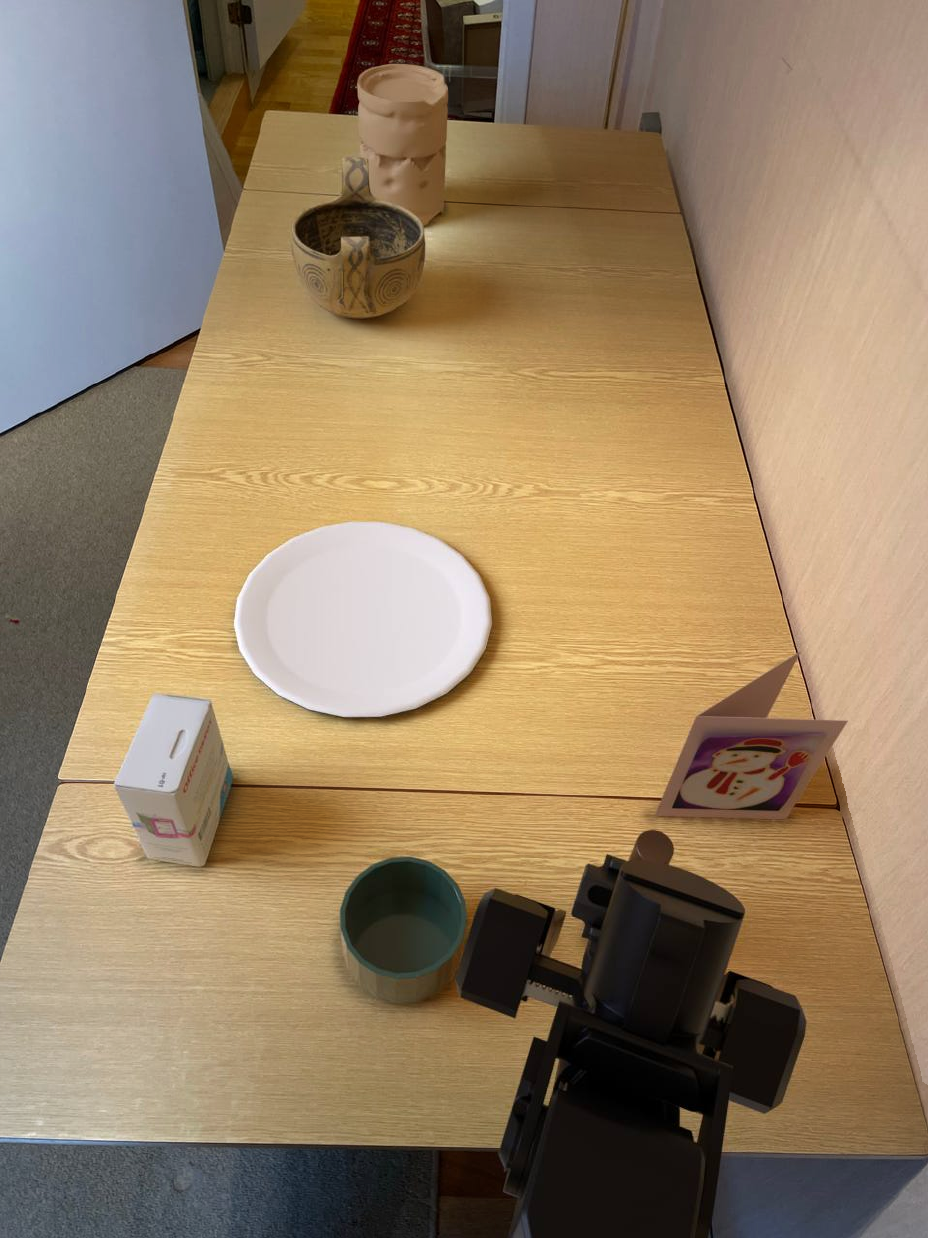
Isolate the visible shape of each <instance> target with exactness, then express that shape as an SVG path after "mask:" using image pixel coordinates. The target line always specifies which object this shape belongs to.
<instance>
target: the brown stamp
mask: <svg viewBox="0 0 928 1238" xmlns="http://www.w3.org/2000/svg"><path fill="white" fill-rule="evenodd" d="M674 853H675V847H674V843H673V842H672V840H671V838H670V837H669V836H668V835H667V834H666V833H664V832H662V831H660V830H657V829H647V830H645V831H642V832H641V833H640V834H639V835H638V836H637V838H636V840H635V843H634V845H633V848H632V850H631V853H630V855H629V858H628V860H627V861H629V860H649V861H654V862H659V863H664V864H667V865H670V863H671V861H672V859H673V856H674Z"/></svg>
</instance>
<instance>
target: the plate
mask: <svg viewBox="0 0 928 1238" xmlns="http://www.w3.org/2000/svg"><path fill="white" fill-rule="evenodd" d="M492 618H493V617H492V605H491V598H490V596H489V593H488V591H487V588H486V586H485V584H484V582H483V580H482V577H481V575H480V573H478V572H477V570H476V569H475V568H474V567H473V566H472V564H471V563H470V562H469V560H467V558H466V557H464V555H463V554H462V553H460V552H459V551H458V550H456V549H454V548H453V547H452V546H451V545H449V544H447V543H446V542H444V541H443V540H442V539H440V538H437V537H436V536H433V535H431V534H428V533H426V532H423V531H421V530H419V529H416V528H414V527H410V526H405V525H399V524H395V523H389V522H384V521H347V522H341V523H336V524H331V525H326V526H320V527H317V528H315V529H312V530H309V531H307V532H304V533H302V534H300V535H296V536H294V537H292V538H290V539H289V540H287V541H285V542H284V543H283V544H282V545H280V546H278V547H277V548H275V549H274V550H272V551H270V552H269V553H268V554H266V556H264V558H262V560H261V561H260V562H259V563H258V564H257V566H256V567H255V568H254V569H253V570H252V571H251V572H250V573H249V574H248V576H247V578H246V580H245V583H244V584H243V586H242V588H241V590H240V593H239V594H238V596H237V598H236V605H235V612H234V620H233V627H234V631H235V636H236V640H237V645H238V650H239V653H240V654H241V656H242V657H243V659H244V660H245V662H246V664H247V665H248V667H249V669H250V670H251V672H252V673H253V675H254V676H255V677H256V678H257V679H258V680H260V682H261V683H263V685H265V686H266V687H267V688H269V689H270V690H271V691H272V692H273V693H274V694H275V695H277V696H278V697H280V698H282V699H284V700H286V701H288V702H290V703H293V704H294V705H296V706H298V707H301V708H303V709H305V710H307V711H310V712H315V713H320V714H323V715H328V716H333V717H337V718H342V719H375V718H376V719H377V718H379V719H380V718H381V719H382V718H385V717H389V716H394V715H399V714H403V713H406V712H410V711H415V710H417V709H420V708H422V707H424V706H426V705H427V704H430V703H431V702H434V701H436V700H438V699H440V698H442V697H444V696H446V695H447V694H449V693H450V692H451V691H452V690H453V689H454V688H456V687H457V686H458V685H459V684H460V683H461V682H463V681H464V680H466V678H467V677H468V676H470V675H471V673H472V672H473V670H474V668H476V665H477V664H478V662H479V661H480V659H481V658H482V656H483V655H484V653H485V651H486V648H487V646H488V641H489V637H490V633H491V629H492V626H493V619H492Z"/></svg>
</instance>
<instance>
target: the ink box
mask: <svg viewBox="0 0 928 1238" xmlns="http://www.w3.org/2000/svg"><path fill="white" fill-rule="evenodd" d="M231 770H232V769H231V766H230V763H229V760H228V756H227V752H226V749H225V745H224V741H223V738H222V734H221V732H220V727H219V724H218V721H217V718H216V714H215V710H214V707H213V703H212V701H211V699H209V698H203V697H197V696H196V697H195V696H189V695H188V696H187V695H179V694H169V693H168V694H165V693H153V694H152V695H151V698H150V699H149V702H148V705H147V707H146V709H145V711H144V714H143V716H142V718H141V721H140V723H139V725H138V728H137V730H136V733H135V735H134V737H133V739H132V741H131V744H130V746H129V749H128V751H127V753H126V755H125V757H124V760H123V762H122V764H121V766H120V769H119V771H118V773H117V776H116V777H115V780H114V783H113V788H114V790H115V792H116V794H117V796H118V798H119V801H120V803H121V805H122V808H123V809H124V811H125V813H126V815H127V817H128V820H129V822H130V824H131V826H132V828H133V830H134V832H135V835H136V836H137V838H138V841H139V843H140V845H141V847H142V849H143V851H144V853H145V856H146V858H147V859H149V860H154V861H158V862H159V861H160V862H164V863H172V864H178V865H185V866H190V867H191V866H193V867H204V866H205V864H207V859H208V857H209V854H210V851H211V848H212V844H213V841H214V839H215V836H216V832H217V829H218V827H219V823H220V821H221V818H222V814H223V811H224V808H225V805H226V802H227V800H228V797H229V794H230V791H231V787H232V785H233V781H234V776H233V773H232V771H231Z"/></svg>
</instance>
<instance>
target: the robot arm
mask: <svg viewBox="0 0 928 1238" xmlns="http://www.w3.org/2000/svg"><path fill="white" fill-rule="evenodd" d="M628 860H629V859H628ZM628 860H626V859H623V858H620V857H618V856H615V855H612V854H608V853H606V855H605V858H604V861H603V863H602V865H600V866H597V865H594V864H592V863H587V864H585V866H584V870H583V873H582V875H581V879H580V883H579V885H578V889H577V892H576V896H575V898H574V902H573V905H572V909H571V911H570V912H571V913H570V915H571V917H572V918H575V919H578V920H581V921H582V922H583V923H584V927H583V931H582V934H581V938H584V939H587V944H586V947H585V950H584V953H583V957H582V961H581V967H578V966H574V965H572V964H569V963H567V962H563V961H561V960H559V959H556V958H553V957H551V955H552V953H553V951H554V949H555V947H556V945H557V944H558V941H559V938H560V935H561V933H562V929H563V926H564V922H565V919H566V916H567V911H566V910H564V909H557V910H556V907H554V906H551V905H549V904H545V903H542V902H540V901H537V900H535V899H531V898H528V897H526V896H523V895H520V894H514V893H512V892H507V891H505V890H503V889H500V888H497V887H495V888H492V889H491V890H488V891H487V892H484V893H483V895H482V896H481V898H480V900H479V902H478V904H477V907H476V909H475V913H474V915H473V918H472V922H471V924H470V928H469V931H468V934H467V938H466V941H465V944H464V948H463V952H462V957H461V961H460V964H459V967H458V969H457V971H456V974H455V979H454V985H455V988H456V990H457V993H458V996H459V998H460V999H462V1000H465V1001H468V1002H471V1003H473V1004H475V1005H478V1006H481V1007H483V1008H486V1009H489V1010H491V1011H494V1012H497V1013H499V1014H502V1015H504V1016H507V1017H509V1018H512V1019H516V1018H517V1015H518V1012H519V1009H520V1005H521V1003H522V1002H524V1003H526V1002H527V1001H528V999H529V998H532V999H534V1000H536V1001H539V1002H541V1003H544V1004H547V1005H549V1006H552V1007H555V1008H556V1010H555V1013H554V1017H553V1019H552V1023H551V1026H550V1029H549V1032H548V1036H547V1039H546V1040H544V1039H543V1038H540V1037H537V1036H533V1038H532V1041H531V1043H530V1046H529V1050H528V1053H527V1057H526V1061H525V1063H524V1067H523V1070H522V1073H521V1076H520V1080H519V1083H518V1087H517V1089H516V1093H515V1096H514V1099H513V1104H512V1106H511V1110H510V1113H509V1116H508V1119H507V1123H506V1126H505V1128H504V1129H505V1130H504V1132H503V1133H504V1134H503V1137H502V1139H501V1143H500V1146H499V1150H498V1152H497V1155H498V1157H499V1160H500V1162H501V1164H502V1166H503V1172H504V1173H507V1174H506V1177H505V1181H504V1185H503V1189H502V1192H503V1193H505V1194H507V1195H510V1196H512V1197H515V1198H517V1200H516V1205H515V1208H514V1212H513V1215H512V1218H511V1223H510V1227H509V1230H508V1234H507V1238H709V1234H710V1230H711V1225H712V1221H713V1217H714V1210H715V1205H716V1199H717V1198H716V1196H717V1189H718V1182H719V1176H720V1175H719V1174H720V1168H721V1161H722V1153H723V1147H724V1146H723V1145H724V1138H725V1131H726V1124H727V1117H728V1116H727V1115H728V1109H729V1101H730V1102H732V1103H735V1104H737V1105H739V1106H742V1107H745V1108H748V1109H750V1110H753V1111H755V1112H758V1113H761V1114H763V1115H766V1114H767V1113H769V1112H770V1111H772V1110H774V1109H775V1108H777V1107H779V1106H780V1105H781V1104H782V1103H783V1102H784V1099H785V1096H786V1092H787V1090H788V1087H789V1084H790V1080H791V1078H792V1074H793V1072H794V1069H795V1066H796V1063H797V1060H798V1057H799V1055H800V1051H801V1048H802V1046H803V1043H804V1040H805V1037H806V1030H807V1029H806V1028H807V1018H806V1014H805V1012H804V1008H803V1006H802V1004H801V1003H800V1002H799V1001H800V1000H798V997H797V995H796V994H793V993H790V992H787V991H784V990H781V989H779V988H775V987H774V986H773V985H771V984H768V983H765V982H763V981H761V980H757V979H755V978H752V977H749V976H747V975H744V974H740V973H739V972H734V971H732V970H728V966H729V963H730V960H731V956H732V955H733V952H734V951H733V950H734V947H735V944H736V942H737V938H738V935H739V934H740V933H739V932H740V929H741V928H742V927H741V926H742V924H743V920H744V918H745V915H746V908H745V906H744V904H743V903H742V902H741V901H740V900H739V898H737V897H736V896H735V895H733V893H731V892H730V891H728V890H727V889H725V888H724V887H722V886H721V885H719V884H717V883H715V882H713V881H711V880H709V879H707V878H705V877H703V876H701V875H699V874H696V873H693V872H691V871H689V870H686V869H683V868H682V867H681V868H680V867H678V866H675V865H670V864H669V865H667V864H664V863H659V862H654V861H649V860H629V861H628ZM727 970H728V971H727ZM521 1001H522V1002H521ZM556 1060H558V1062H557V1068H556V1072H555V1076H554V1081H553V1086H552V1092H551V1095H550V1098H549V1101H548V1104H546V1103H545V1099H546V1096H547V1093H548V1089H549V1086H550V1081H551V1078H552V1075H553V1071H554V1068H555V1064H556ZM681 1109H683V1110H686V1111H688V1112H690V1113H696V1114H699V1115H701V1116H702V1117H701V1121H700V1125H699V1131H698V1135H697V1140H696V1141H695V1137H694V1135H693V1131H692V1130H691V1129H688V1128H686V1127H684V1126H680V1125H681Z"/></svg>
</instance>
